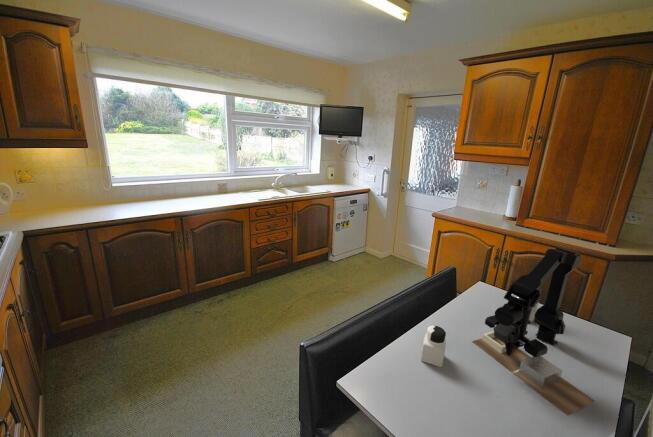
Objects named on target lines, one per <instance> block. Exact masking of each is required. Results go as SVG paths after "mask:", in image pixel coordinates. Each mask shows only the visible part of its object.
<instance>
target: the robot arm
mask: <svg viewBox="0 0 653 437" xmlns="http://www.w3.org/2000/svg"><path fill="white" fill-rule="evenodd" d="M581 263H582V256H581V255H580V253H579V252H578V251H574V250H570V249H568V248H564V247H560V246H557V247H556V248H554V247H553V248H552V247H549V248H548V249H546V251H545V255H544V256H543V257H542V258H541V259H540V260H539V262H538V263H537V264H536V265H535V266H534V267H533V268H532V269H531V271H530V272H529V273H527V274H522V275H520V276H519V277H518V278H516V279H515V280H514V281H513V282H512V283H511V284H510V286H509V288H508V290H507V291H506V293H505V294H504V296H503V299H504V300H506V301H507V303H504V304H503V305H502V306H499V307H498V308H497V309H495V311H494V315H491V316H490V315H489V316H486V318H485V320H484V324H485V325H486V326H487V327H489V328H490V329H493V331H494V336H495V337H496V338H498V339H500V340H501V341H502V342H503V343H505V347H506V352H507V355H509V356H510V355H511V354H512V353H513V352H514V351H515V350H517V349H518V348H519V349H520V348H521V347H523V350H524V352H525V353H526V354H528V355H529V356H530V355H531V357H539V356H543V355H546V354H547V353H548V350H549V349H548V346H547V344H544V343H548V344H549V345H552V346H556V345H557V344H559V342H558V341H557V340H556V336H557V335H563V334H564V332H565V329H566V324H565V322H564V315H565V314H564V312H563V310H562V308H561V305H562V301H563V298H564V294H565V291H566V288H567V283H568V279H569V276H570V273H572V272H573V271H575V270H576V269H577V268H578V267H579V265H580V264H581ZM550 276H551V278H550V281H549V286H548V290H547V294H546V297H545V301H544V304H543V305H542V306H540V307H538V309H537V311H536V313H535V319H534V320H533V323H534V324H537V325H538V329H537V331H536V332H537V333H535V338H534V339H531V340H530V338H529V337H528V336H526V335H528V331H527V327H528V325H530V324H531V323H532V322H531V321H529V317H530V314H531V310H532V307H533V308H534V307H535V305H536V304H537V302H538V301H539V299H540V300H541V298H542V292H543V291H542V286H543V285H544V283H545V282H547V280H548V278H549V277H550ZM517 297H520V298H517ZM539 302H540V301H539Z"/></svg>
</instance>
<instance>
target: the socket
mask: <svg viewBox="0 0 653 437" xmlns="http://www.w3.org/2000/svg"><path fill="white" fill-rule="evenodd" d="M494 337H495V336H494V330H493V331H488V332H486V333H485V332H484V333H482V338H481V339H482V340H483V341H485V342H486V343H487V344H489V345H490V346H491V347H493V348H494V349H496V350H497V351H498V352H500V353H504V352H506V347H505V345H503V346H501V345H500V344H499V343H497V342H496V341H494V340H493V339H492V338H494Z"/></svg>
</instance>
